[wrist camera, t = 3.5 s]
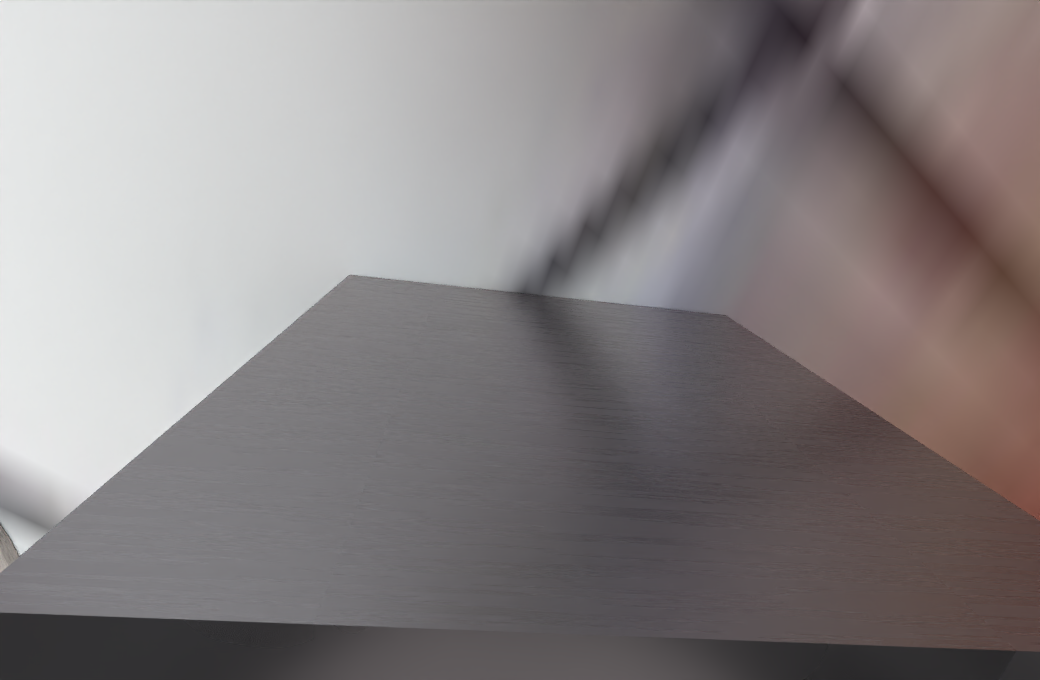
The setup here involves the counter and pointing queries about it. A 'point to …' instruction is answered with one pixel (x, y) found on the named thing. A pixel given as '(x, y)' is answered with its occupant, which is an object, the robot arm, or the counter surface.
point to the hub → (6, 550)
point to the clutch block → (527, 515)
